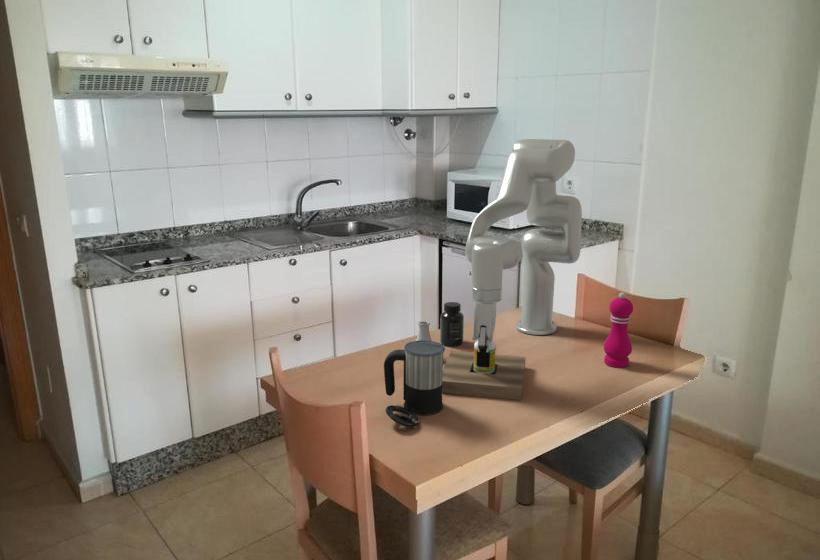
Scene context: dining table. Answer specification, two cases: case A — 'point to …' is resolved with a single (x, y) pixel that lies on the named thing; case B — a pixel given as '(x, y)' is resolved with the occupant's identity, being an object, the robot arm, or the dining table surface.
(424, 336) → the flask
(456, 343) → the supplement bottle
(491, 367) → the supplement bottle
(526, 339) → the dining table surface
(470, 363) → the block
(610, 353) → the pepper mill
